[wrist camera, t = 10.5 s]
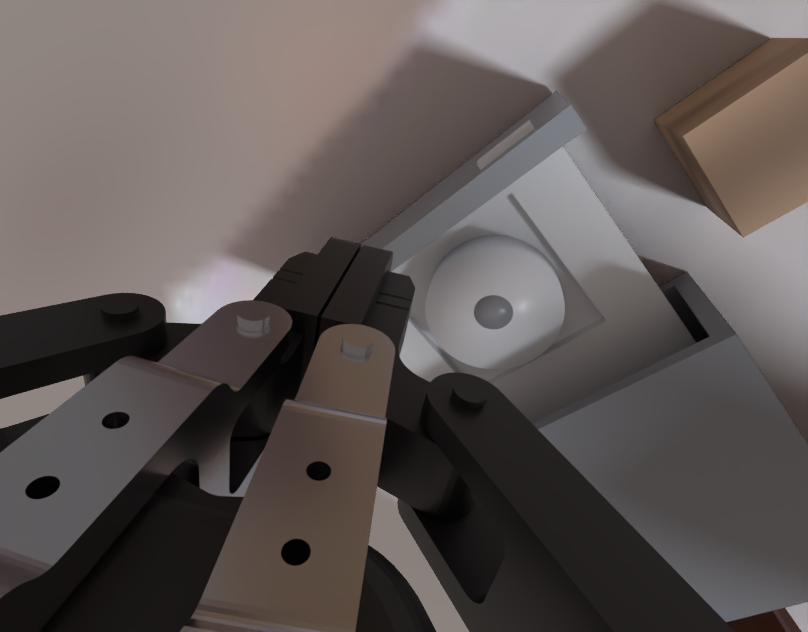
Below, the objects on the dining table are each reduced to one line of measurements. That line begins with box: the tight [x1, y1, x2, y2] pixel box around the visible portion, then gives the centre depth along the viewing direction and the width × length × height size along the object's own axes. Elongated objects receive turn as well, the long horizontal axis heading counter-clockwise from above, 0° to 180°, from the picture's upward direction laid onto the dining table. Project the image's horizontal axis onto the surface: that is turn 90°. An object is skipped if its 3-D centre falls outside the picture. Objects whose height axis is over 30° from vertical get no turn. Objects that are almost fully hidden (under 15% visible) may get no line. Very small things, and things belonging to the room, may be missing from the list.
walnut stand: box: [654, 38, 808, 237], centre depth 20 cm, size 5×5×4 cm
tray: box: [361, 91, 697, 423], centre depth 25 cm, size 16×15×5 cm
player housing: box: [532, 272, 808, 622], centre depth 28 cm, size 16×16×6 cm
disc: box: [425, 235, 565, 369], centre depth 25 cm, size 6×6×2 cm
